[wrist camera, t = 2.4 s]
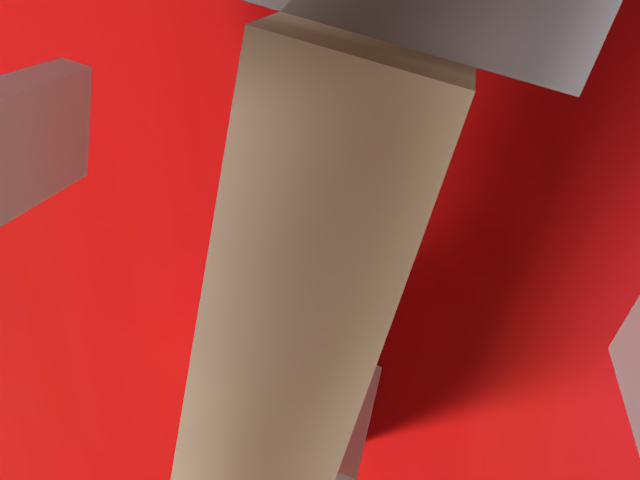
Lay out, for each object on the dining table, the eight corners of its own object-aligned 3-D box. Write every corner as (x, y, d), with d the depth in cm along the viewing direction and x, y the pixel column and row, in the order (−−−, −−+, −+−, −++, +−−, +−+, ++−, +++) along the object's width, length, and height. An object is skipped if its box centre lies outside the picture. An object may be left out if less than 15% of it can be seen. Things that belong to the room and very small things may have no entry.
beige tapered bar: (142, 506, 19) (89, 595, 17) (299, -667, 8) (211, -963, 5) (350, 586, 19) (329, 690, 16) (853, -570, 7) (1063, -855, 5)
